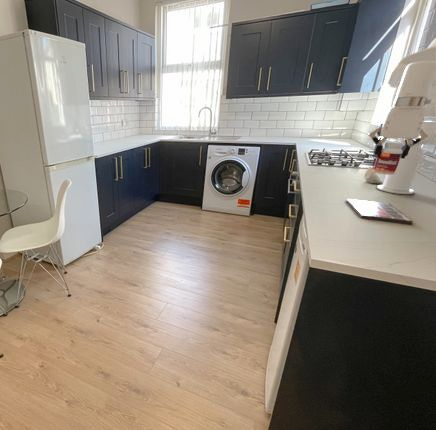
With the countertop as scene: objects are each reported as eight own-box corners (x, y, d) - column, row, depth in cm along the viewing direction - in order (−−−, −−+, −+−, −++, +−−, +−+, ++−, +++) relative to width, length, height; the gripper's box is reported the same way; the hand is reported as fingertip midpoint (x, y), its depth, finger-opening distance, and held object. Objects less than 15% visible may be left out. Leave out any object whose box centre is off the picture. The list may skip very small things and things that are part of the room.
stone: (388, 186, 143) (389, 172, 137) (372, 192, 145) (373, 178, 140) (374, 175, 151) (374, 161, 145) (359, 180, 153) (359, 167, 148)
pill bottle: (371, 173, 102) (382, 142, 98) (371, 170, 106) (381, 140, 102) (395, 175, 98) (407, 143, 94) (393, 172, 102) (405, 142, 98)
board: (346, 201, 119) (347, 198, 118) (388, 206, 113) (389, 203, 113) (360, 217, 102) (362, 214, 101) (411, 224, 96) (413, 221, 96)
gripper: (437, 103, 93) (415, 157, 100) (371, 103, 100) (355, 153, 106) (450, 103, 86) (426, 160, 93) (379, 103, 93) (361, 157, 100)
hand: (388, 156), depth 100 cm, fingers closed on pill bottle, 6 cm apart
